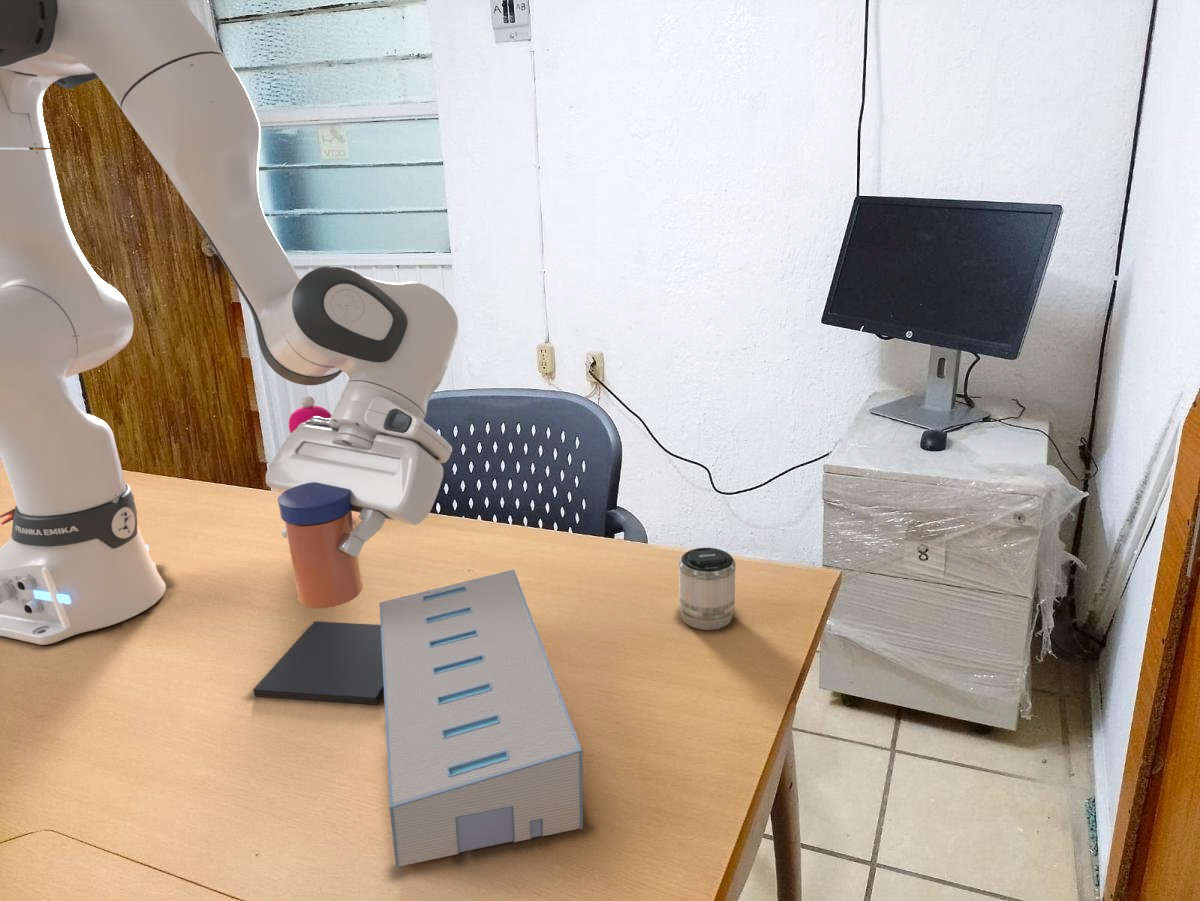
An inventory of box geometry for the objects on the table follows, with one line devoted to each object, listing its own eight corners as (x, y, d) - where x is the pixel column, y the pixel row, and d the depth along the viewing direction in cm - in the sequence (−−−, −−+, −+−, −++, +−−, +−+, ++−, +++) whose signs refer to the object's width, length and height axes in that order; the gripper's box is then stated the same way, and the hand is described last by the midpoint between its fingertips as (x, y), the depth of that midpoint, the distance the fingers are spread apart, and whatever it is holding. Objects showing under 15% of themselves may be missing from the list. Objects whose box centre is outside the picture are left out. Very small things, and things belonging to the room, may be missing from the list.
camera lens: (742, 627, 92) (744, 564, 89) (688, 635, 91) (688, 571, 88) (723, 600, 98) (724, 539, 95) (672, 607, 97) (671, 546, 94)
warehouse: (384, 649, 89) (377, 586, 86) (516, 629, 92) (514, 569, 90) (396, 868, 62) (387, 786, 59) (583, 828, 65) (582, 750, 63)
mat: (254, 696, 83) (252, 689, 83) (315, 627, 95) (314, 621, 95) (376, 704, 81) (375, 698, 81) (423, 633, 93) (422, 627, 93)
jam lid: (266, 523, 80) (263, 506, 79) (301, 496, 86) (298, 480, 85) (333, 526, 78) (331, 508, 78) (364, 497, 85) (361, 481, 84)
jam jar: (286, 606, 83) (268, 509, 79) (316, 576, 89) (300, 484, 85) (346, 609, 82) (330, 511, 78) (373, 578, 88) (359, 486, 84)
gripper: (286, 400, 90) (226, 517, 85) (433, 422, 80) (374, 555, 76) (323, 427, 95) (269, 539, 90) (465, 451, 85) (413, 577, 81)
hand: (318, 546), depth 83 cm, fingers closed on jam jar, 6 cm apart
